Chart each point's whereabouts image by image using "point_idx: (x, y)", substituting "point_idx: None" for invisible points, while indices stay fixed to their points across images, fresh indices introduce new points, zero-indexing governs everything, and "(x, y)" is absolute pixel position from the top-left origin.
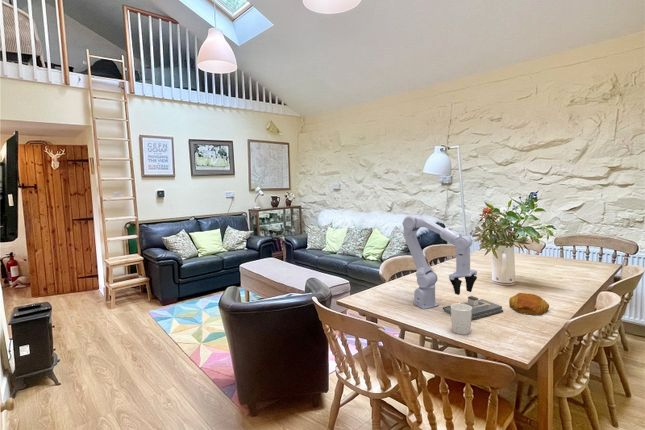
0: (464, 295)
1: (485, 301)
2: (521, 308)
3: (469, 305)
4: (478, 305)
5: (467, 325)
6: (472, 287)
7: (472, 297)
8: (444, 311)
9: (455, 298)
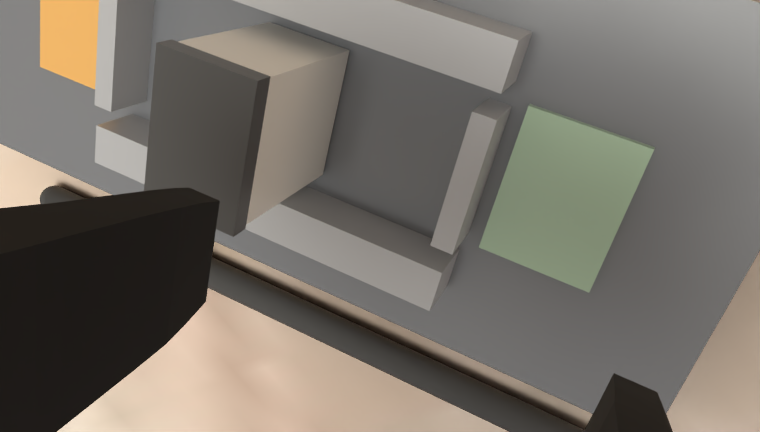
0: None
1: (6, 62)
2: None
3: (317, 152)
4: None
5: None
6: (77, 200)
7: (200, 153)
8: None
9: (145, 405)
